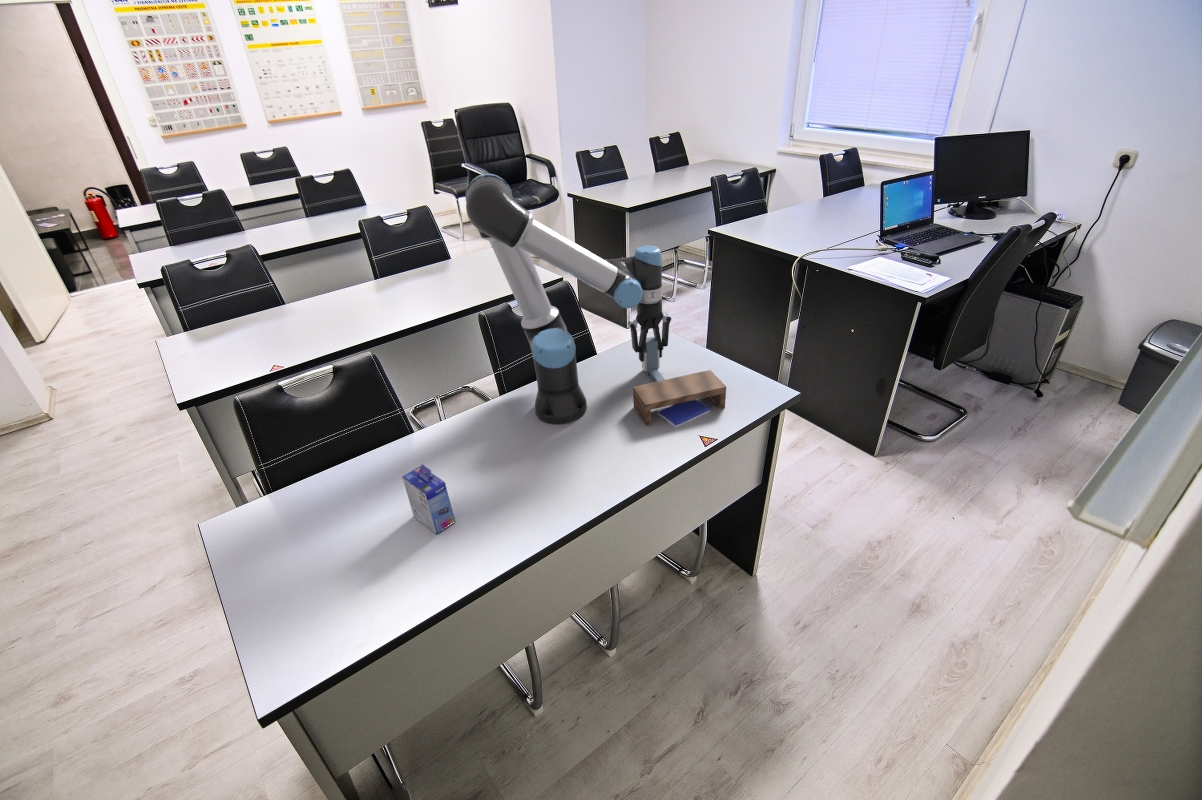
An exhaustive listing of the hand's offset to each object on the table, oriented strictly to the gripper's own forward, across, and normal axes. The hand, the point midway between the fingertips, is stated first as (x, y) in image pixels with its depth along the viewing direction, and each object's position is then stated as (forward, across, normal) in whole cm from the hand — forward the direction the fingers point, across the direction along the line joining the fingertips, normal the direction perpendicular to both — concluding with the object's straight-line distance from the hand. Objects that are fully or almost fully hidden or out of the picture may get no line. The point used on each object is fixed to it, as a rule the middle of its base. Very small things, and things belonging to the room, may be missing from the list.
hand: (650, 367), depth 180 cm
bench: (+1, 0, -22) cm, 23 cm away
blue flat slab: (+2, 0, -26) cm, 26 cm away
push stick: (+1, 0, -8) cm, 8 cm away
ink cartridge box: (+1, -70, -44) cm, 82 cm away
